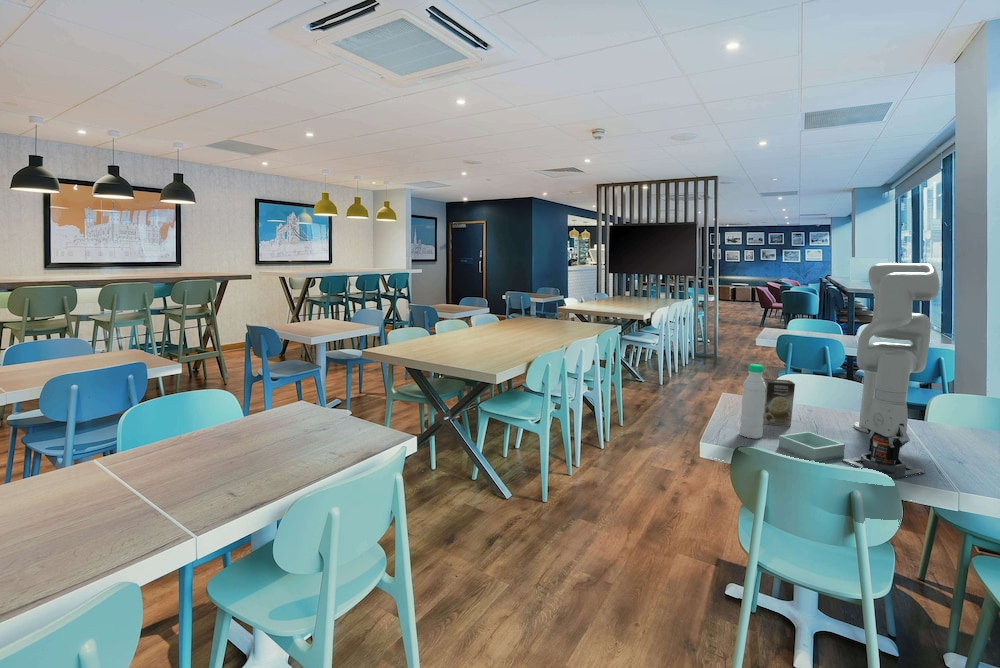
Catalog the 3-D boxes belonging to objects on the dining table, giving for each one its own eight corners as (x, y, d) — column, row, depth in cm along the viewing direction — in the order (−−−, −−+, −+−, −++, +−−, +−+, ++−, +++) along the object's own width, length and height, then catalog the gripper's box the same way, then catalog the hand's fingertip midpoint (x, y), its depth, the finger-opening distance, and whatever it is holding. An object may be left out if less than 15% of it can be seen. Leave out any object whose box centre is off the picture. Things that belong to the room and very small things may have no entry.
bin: (807, 443, 171) (808, 431, 171) (843, 456, 159) (845, 444, 159) (778, 447, 167) (779, 435, 166) (813, 461, 155) (815, 449, 155)
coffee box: (764, 424, 190) (767, 382, 188) (759, 419, 196) (763, 378, 194) (791, 426, 188) (795, 383, 186) (786, 421, 194) (789, 379, 192)
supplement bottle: (872, 468, 150) (876, 431, 148) (867, 461, 155) (871, 425, 154) (897, 472, 148) (901, 434, 146) (891, 464, 153) (895, 427, 151)
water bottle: (764, 440, 174) (770, 367, 170) (742, 438, 175) (747, 366, 172) (758, 433, 181) (764, 363, 177) (737, 431, 182) (742, 362, 178)
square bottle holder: (874, 455, 160) (875, 448, 160) (924, 473, 147) (925, 465, 147) (842, 461, 155) (842, 453, 155) (890, 480, 142) (891, 471, 142)
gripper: (856, 388, 157) (850, 445, 159) (901, 404, 140) (894, 467, 142) (880, 388, 157) (873, 444, 160) (928, 404, 140) (920, 467, 143)
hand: (883, 454), depth 151 cm, fingers closed on supplement bottle, 6 cm apart
